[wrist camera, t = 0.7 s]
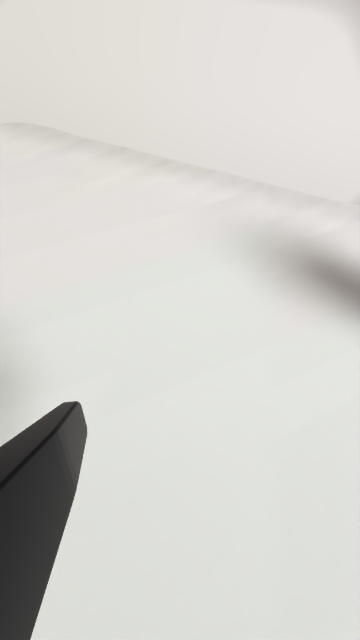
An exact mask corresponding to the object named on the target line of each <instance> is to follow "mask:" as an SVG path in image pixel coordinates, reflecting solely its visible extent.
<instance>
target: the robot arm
mask: <svg viewBox="0 0 360 640" xmlns="http://www.w3.org/2000/svg"><path fill="white" fill-rule="evenodd" d="M86 438H87V425H86V422H85V418H84V414H83V410H82V406H81V404H80V403H79V402H78V401H74V402H64V403H62V404H60V405H59V406H58V407H56V408H55V409H53V410H52V411H51V412H49V413H48V414H46V415H45V416H43V417H42V418H41V419H39V420H38V421H36V422H35V423H34V424H32V425H31V426H29V427H28V428H26V429H25V430H24V431H22V432H21V433H19V434H18V435H17V436H15V437H14V438H12V439H11V440H9V441H8V442H7V443H5V444H4V445H2V446H1V447H0V640H30V639H31V635H32V632H33V629H34V626H35V623H36V619H37V616H38V613H39V610H40V606H41V603H42V600H43V597H44V593H45V590H46V587H47V584H48V581H49V577H50V574H51V571H52V568H53V564H54V561H55V558H56V555H57V552H58V548H59V545H60V542H61V539H62V535H63V532H64V529H65V526H66V522H67V519H68V516H69V513H70V510H71V506H72V503H73V500H74V496H75V493H76V489H77V484H78V479H79V474H80V469H81V464H82V459H83V453H84V448H85V443H86Z"/></svg>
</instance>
